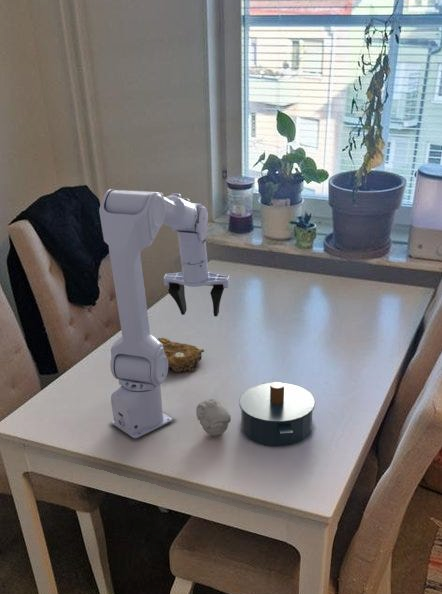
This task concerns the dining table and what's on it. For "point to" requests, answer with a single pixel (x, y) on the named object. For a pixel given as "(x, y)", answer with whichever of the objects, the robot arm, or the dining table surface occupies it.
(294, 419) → the pan lid
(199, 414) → the grey lumpy piece
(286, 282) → the dining table surface
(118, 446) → the dining table surface
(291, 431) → the pan
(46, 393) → the dining table surface
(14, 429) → the dining table surface
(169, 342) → the decorative rock
